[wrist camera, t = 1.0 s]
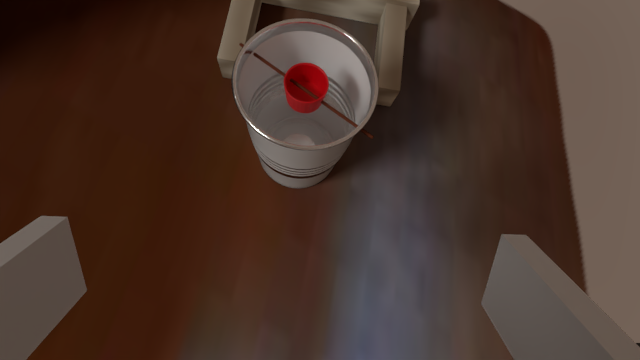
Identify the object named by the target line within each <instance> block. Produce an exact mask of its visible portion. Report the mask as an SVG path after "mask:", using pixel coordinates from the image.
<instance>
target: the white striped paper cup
mask: <svg viewBox="0 0 640 360" xmlns="http://www.w3.org/2000/svg"><path fill="white" fill-rule="evenodd" d="M239 45H240V46H241V47H242V49H241V50H240V52H239V54H238V55H237V58H236V60H235V63H234V66H233V71H232V80H231V83H232V92H233V97H234V100H235V103H236V105H237V108H238V110H239V112H240V113H241V115H242V116H243V118H244V119H245V121H246V122H247V126H248V130H249V134H250V136H251V139H252V142H253V145H254V147H255V149H256V151H257V153H258V156H259V159H260V162H261V164H262V167H263V168H264V170H265V172H266V173H267V174H268V175H269V176H270V177H271V178H272V179H273V180H274V181H276V182H277V183H279V184H281V185H284V186H286V187H290V188H306V187H310V186H313V185H315V184H317V183H319V182H321V181H322V180H323V179H325V178H326V177H327V176H328V174H329V173H330V172H331V170H332V169H333V167H334V166H335V164H336V163H337V161H338V160H339V159H340V158H341V157H342V155H343V154H344V152H345V151H346V149H347V147H348V146H349V145H350V143H351V141H352V139H353V137H354V136H355V135H356V134H357V133H358V132H359V131H361V132H362V133H364V134H365V135H367V136H368V137H370V138H371V139H373V137H374V136H373V135H371V134H370V133H368V132H367V131H366V130H364V129H363V127H364V126H365V125H366V124H367V122H368V121H369V119H370V118H371V116H372V114H373V112H374V110H375V107H376V104H377V100H378V93H379V84H378V76H377V72H376V69H375V66H374V63H373V61H372V59H371V57H370V56H369V54H368V52H367V51H366V50H365V48H364V47H363V46H362V45H361V44H360V43H359V42H358V41H357V40H356V39H355V38H354V37H353V36H352V35H350V34H349V33H347V32H346V31H344V30H343V29H341V28H339V27H337V26H335V25H332V24H330V23H327V22H324V21H319V20H314V19H289V20H284V21H280V22H276V23H274V24H271V25H269V26H267V27H265V28H263V29H262V30H260V31H258V32H257V33H256V34H254V35H253V36H252V37H251V38H250V39H249V40H248V41H247V42H246V43H245V44H242V43H240V44H239Z"/></svg>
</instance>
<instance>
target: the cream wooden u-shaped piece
mask: <svg viewBox="0 0 640 360" xmlns="http://www.w3.org/2000/svg"><path fill="white" fill-rule="evenodd" d="M262 3H267V4H273V5H278V6H283V7H288V8H294V9H299V10H304V11H309V12H314V13H320V14H325V15H330V16H335V17H341V18H346V19H351V20H356V21H362V22H367V23H372V24H377V25H378V32H377V41H376V50H375V59H374V66H375V69H376V72H377V76H378V84H379V93H378V100H377V104H378V105H384V106H389V107H390V106H391V104H392V103H393V101H394V100H395V98H396V97H397V95H398V93H399V92H400V86H401V74H402V62H403V51H404V39H405V30H407V28H408V27H409V25H410V23H411V21H412V19H413V17H414V15H415V13H416V11H417V9H418V7H419V3H420V0H232V1H231V5H230V9H229V13H228V17H227V21H226V25H225V29H224V33H223V37H222V41H221V45H220V49H219V53H218V57H217V59H218V63H219V66H220V69H221V73H222V76H223V77H225V78H231V79H232V71H233V66H234V63H235V60H236V58H237V55H238V54H239V52H240V50H241V49H242V47H241V46H240V45H239V44H240V43H242V44H245V43H246V42H247V41H248V40H249V39H250V38H251V37H252V36H253V35H254V34H255V31H256V26H257V22H258V17H259V13H260V8H261V4H262Z"/></svg>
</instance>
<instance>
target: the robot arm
mask: <svg viewBox="0 0 640 360" xmlns="http://www.w3.org/2000/svg"><path fill="white" fill-rule="evenodd" d="M86 291H87V289H86V285H85V281H84V278H83V274H82V270H81V267H80V263H79V259H78V255H77V252H76V248H75V244H74V240H73V237H72V233H71V229H70V225H69V222H68V218H67V217H54V216H40V217H39V218H37V219H36V220H34V221H33V222H31V223H30V224H29V225H27V226H26V227H24V228H23V229H21V230H20V231H18V232H17V233H15V234H14V235H12V236H11V237H9V238H8V239H6V240H5V241H3V242H2V243H0V360H26V359H27V358H28V357H29V355H30V354H31V353H32V352H33V351H34V350H35V349H36V348H37V346H38V345H39V344H40V343H41V342H42V341H43V340H44V339H45V337H46V336H47V335H48V334H49V333H50V332H51V331H52V329H53V328H54V327H55V326H56V325H57V324H58V323H59V322H60V320H61V319H62V318H63V317H64V316H65V315H66V314H67V312H68V311H69V310H70V309H71V308H72V307H73V306H74V305H75V303H76V302H77V301H78V300H79V299H80V298H81V297H82V296H83V294H84V293H85V292H86ZM481 305H482V306H483V308H484V310H485V311H486V313H487V315H488V316H489V318H490V320H491V321H492V323H493V325H494V327H495V328H496V330H497V332H498V333H499V335H500V337H501V338H502V340H503V342H504V343H505V345H506V347H507V348H508V350H509V352H510V353H511V355H512V357H513V359H514V360H640V343H635V342H634V341H633V340H632V339H631V338H630V337H629V336H628V335H627V334H626V333H625V332H624V331H623V330H622V329H621V328H620V327H619V326H618V325H617V324H616V323H615V322H614V321H613V320H612V319H611V318H610V317H609V316H608V315H607V314H606V313H605V312H604V311H603V310H602V309H601V308H599V306H598V305H597V304H595V302H594V301H592V300H591V299H590V298H589V297H588V296H587V295H586V294H585V293H584V292H583V291H582V290H581V289H580V288H579V287H578V286H577V285H576V284H575V283H574V282H573V281H572V280H571V279H570V278H569V277H568V276H567V275H566V274H565V273H564V272H563V271H562V270H561V269H560V268H559V267H558V266H557V265H556V264H555V263H554V262H553V261H552V260H551V259H550V258H549V257H548V256H547V255H546V254H545V253H544V252H543V251H542V250H541V249H540V248H539V247H538V246H537V245H536V244H535V243H534V242H533V241H532V240H531V239H530V238H529V237H528V236H527V235H514V234H502V235H501V238H500V241H499V245H498V248H497V252H496V255H495V258H494V262H493V265H492V269H491V272H490V275H489V279H488V282H487V286H486V289H485V293H484V296H483V299H482V303H481Z"/></svg>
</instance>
